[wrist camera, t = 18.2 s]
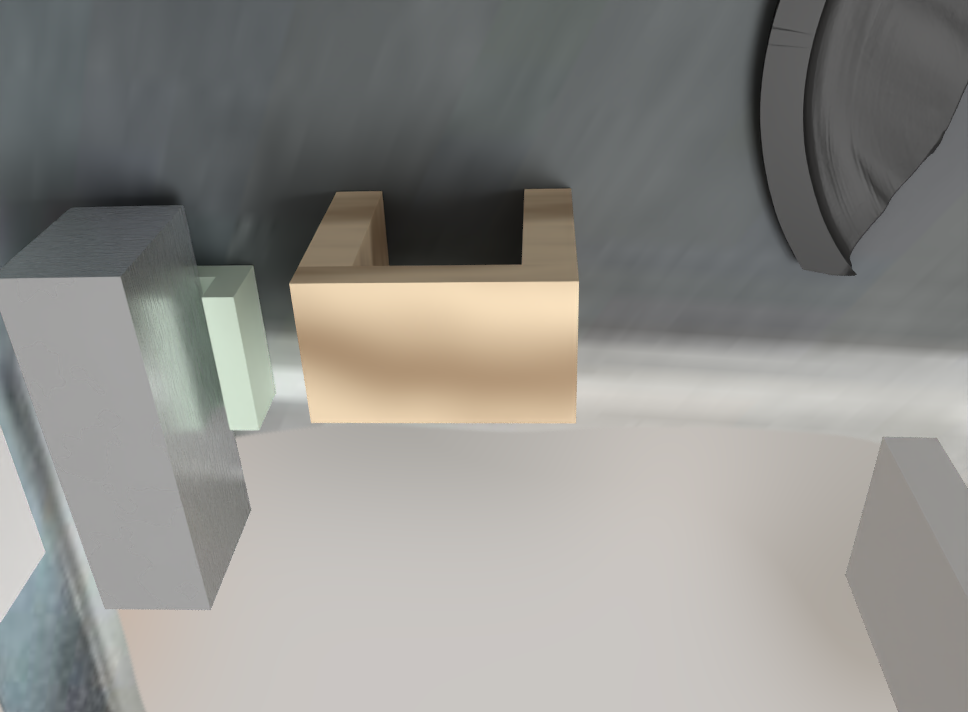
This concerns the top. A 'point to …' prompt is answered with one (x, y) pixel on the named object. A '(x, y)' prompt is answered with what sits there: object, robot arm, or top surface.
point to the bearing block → (438, 324)
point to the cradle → (238, 343)
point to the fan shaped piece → (854, 112)
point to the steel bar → (130, 400)
